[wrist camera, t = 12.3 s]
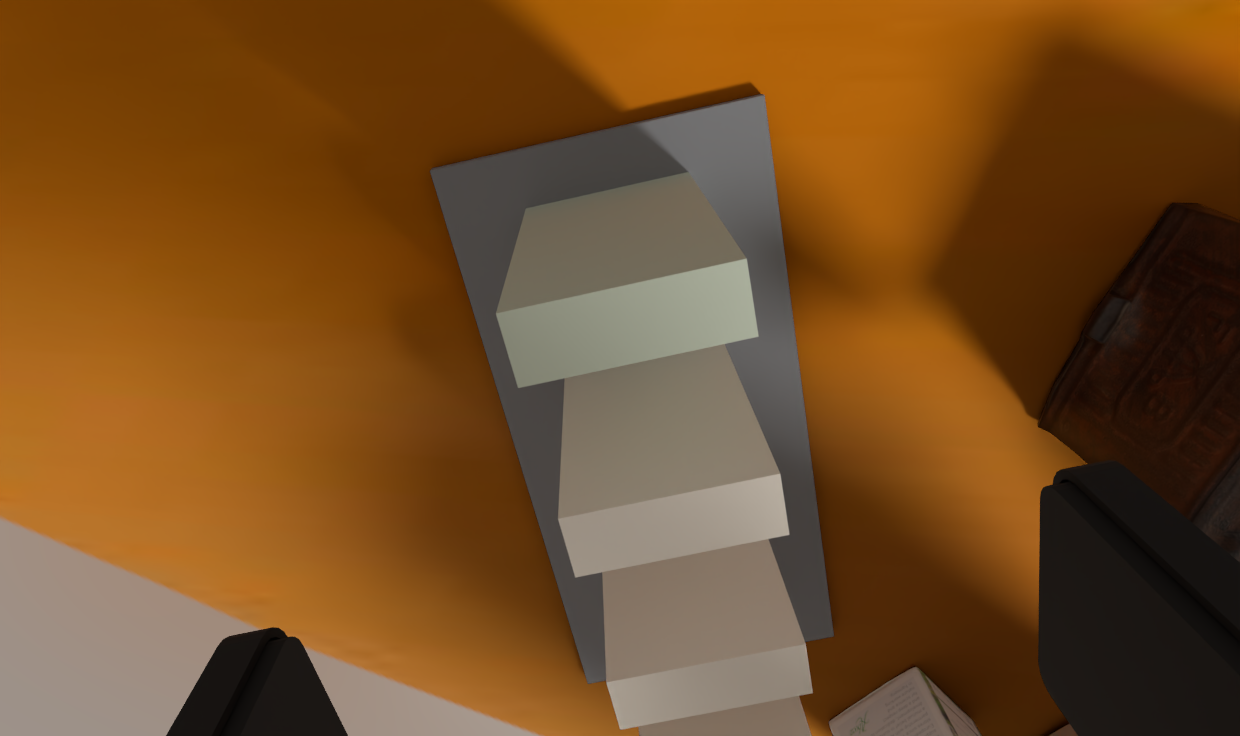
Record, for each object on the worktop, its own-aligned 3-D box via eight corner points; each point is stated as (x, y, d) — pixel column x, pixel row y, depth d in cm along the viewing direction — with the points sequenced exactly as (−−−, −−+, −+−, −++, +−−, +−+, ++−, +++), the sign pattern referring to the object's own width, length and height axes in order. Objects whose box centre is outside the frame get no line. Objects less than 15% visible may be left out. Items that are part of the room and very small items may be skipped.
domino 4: (763, 599, 37) (832, 822, 26) (636, 624, 37) (656, 854, 27) (757, 565, 36) (826, 781, 26) (627, 591, 36) (645, 815, 26)
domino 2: (723, 369, 32) (789, 534, 22) (577, 400, 32) (575, 577, 22) (715, 323, 31) (780, 473, 21) (565, 355, 31) (558, 518, 21)
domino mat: (830, 629, 38) (833, 636, 38) (587, 675, 39) (588, 683, 38) (761, 93, 28) (764, 94, 27) (432, 168, 28) (429, 170, 28)
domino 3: (745, 493, 34) (812, 693, 24) (608, 520, 34) (620, 729, 24) (738, 453, 33) (805, 644, 23) (599, 482, 34) (606, 682, 24)
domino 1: (697, 225, 29) (758, 336, 19) (539, 260, 29) (518, 388, 19) (688, 171, 28) (746, 258, 18) (525, 208, 29) (495, 313, 19)
